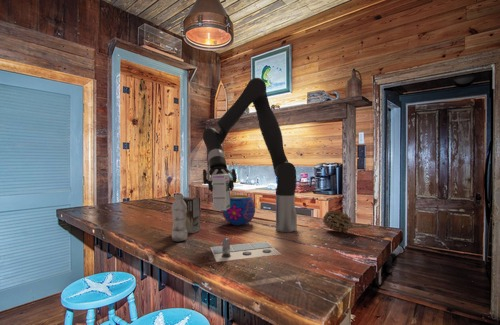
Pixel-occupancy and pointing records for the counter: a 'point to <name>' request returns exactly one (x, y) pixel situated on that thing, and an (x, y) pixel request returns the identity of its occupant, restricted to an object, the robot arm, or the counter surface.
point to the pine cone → (340, 221)
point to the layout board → (245, 251)
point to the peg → (226, 247)
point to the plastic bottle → (179, 218)
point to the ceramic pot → (239, 210)
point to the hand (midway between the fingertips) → (221, 189)
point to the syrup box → (221, 192)
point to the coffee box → (192, 214)
